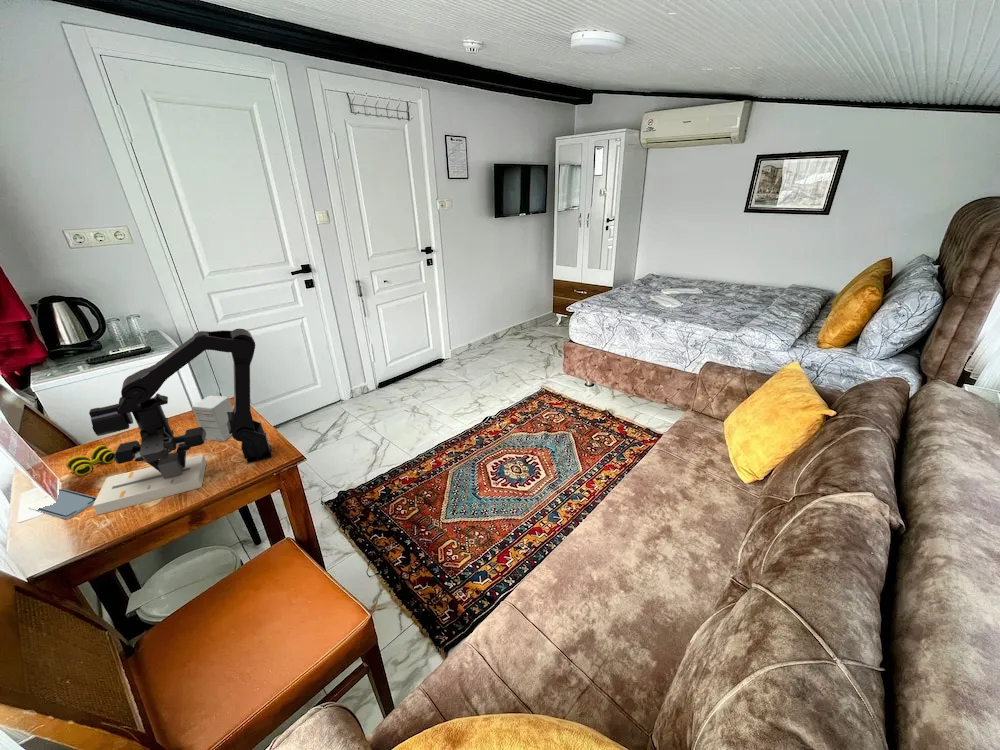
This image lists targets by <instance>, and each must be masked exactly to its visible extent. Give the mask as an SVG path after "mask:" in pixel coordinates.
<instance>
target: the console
mask: <svg viewBox="0 0 1000 750" xmlns="http://www.w3.org/2000/svg"><path fill="white" fill-rule="evenodd" d="M206 467H207V461H206V458H205V455H204V454H200V455H199V454H198V455H195V456H191V457H186V466H185V468H183V472H182V474H181V475H177V476H173V477H169V478H166V479H164V478H163V476H162V474H161V473H160V472H159V471H158V470H156V469H155V468H154V467H153V466H150V467H145V468H144V467H143V468H140V469H136V470H132V471H129V472H124V473H119V474H116V475H111V476H107V477H106V479H105V480H104V483H103V485H102V486H101V489H100V490H99V492H98V495H97V497H96V500H95V502H94V504H93V505H92V508H93V509H94V511H95V513H96V514H97V516H98V515H102V514H106V513H110V512H113V511H116V510H122V509H125V508H128V507H132V506H137V505H140V504H144V503H148V502H152V501H155V500H158V499H163V498H166V497H170V496H173V495H178V494H181V493H184V492H188V491H193V490H197V489H201V488H202V487H203V482H204V479H205V478H204V476H205V471H206Z"/></svg>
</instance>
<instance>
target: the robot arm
mask: <svg viewBox="0 0 1000 750" xmlns="http://www.w3.org/2000/svg"><path fill="white" fill-rule="evenodd" d="M255 349H256V342H255V340H254V338H253V335H252V334H251V332H250V331H248V330H247V329H245V328H235V329H232V330H213V331H205V330H202V331H201V330H199V331H197V332H195V333H194V334H193V336H192V337H190V338H189V339H188V340H186V341H185V342H183V343H182V344H181V345H179V346H178V347H176V348H175V349H174V350H172V351H171V352H170V353H168V354H167V355H166V356H165V357H163V358H162V359H160V360H158V361H157V362H156V363H155V364H153V365H151V366H149V367H145V368H142V369H140V370H138V371H136V372H134V373H133V374H131V375H129V376H126V378H125V379H123V382H122V386H121V391H120V394H121V396H120V397H119V401H118V403H116V404H111V405H107V406H102V407H95V408H91V409H90V410H89V412H88V414H89V417H90V421H91V425H92V427H91V428H92V430H93V432H94V434H95V435H96V436H98V437H102V436H105V435H109V434H113V433H117V432H121V431H126V430H129V429H130V425H132V424H134V419H135V422H136V424H137V427H138V428H139V430H140V431H139V436H140V438H141V439H140V441H138V440H132V441H128V442H124V443H120V444H119V445H118V446H117V448H116V449H115V451H114V452H115V454H114V459H115V460H114V462H115V463H116V464H119V465H120V464H125V463H129V462H132V461H133V460H134V462H136V463H138V462H139V463H140V462H144V463H147V464H148V465H149V466H150V467H154V468H155V469H156V470H158V471H159V472H160V470H159V468H158V463H159V460H160V459H165V458H167V457H168V455H169V453H172V451H175V452H177V453H178V454H179V458H180V461H181V465H182V466H183V468H185V466H186V458H187V451H190V449H191V448H194V447H199V446H203V445H204V444H205V443H206V439H205V438H206V432H205V429H204V428H202V427H199V426H198V427H194V428H190V429H186V430H185V432H184V433H182V434H180V435H178V436H175V433H174V430H173V429H172V428H171V426H170V425H169V419H168V417H166V415H165V412H164V410H163V407H162V406H164V405H168V403H169V398H168V396H167V395H161V394H160V393H157V392H158V391H159V390H160V388H161V387H162V386H163V384H164V383H165V382H166V381H167V380H168V379H169V378H170V377H171V376H173V375H174V374H175V373H177V372H179V370H181V369H182V368H184V367H185V366H186V365H188V364H189V363H191V361H193V360H194V359H196V358H197V357H198V356H199V355H201V354H202V353H204V352H205V351H215V352H223V353H231V357H232V361H233V397H234V399H233V402H234V403H233V405H234V406H233V412H227V415H228V422H227V426H228V430H229V434H231V433H232V435H231V437H232V438H233V439H234V440H235V441H237V442H241V452H242V454H243V457H244V459H246V463H247V464H250V463H253V462H258V461H261V460H265V459H269V458H271V457H272V445H271V444H270V441H269V438H268V435H267V432H265V429H264V427H263V425H262V422H260V421H256V420H254V419H253V416H252V412H251V364H252V361H253V358H254V354H255ZM133 418H134V419H133ZM160 473H161V472H160Z"/></svg>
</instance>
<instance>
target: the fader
mask: <svg viewBox="0 0 1000 750" xmlns="http://www.w3.org/2000/svg"><path fill="white" fill-rule="evenodd" d="M158 468H159V470H160V472H161V474H162V476H163V478H164V479H166V478H169V477H173V476H177V475H181V474H182V472H183V466H182V465H181V461H180V458H179V454H178V453H177V452H176V451H174V452H171V453H169V455H168V457H167V458H165V459H159V463H158Z"/></svg>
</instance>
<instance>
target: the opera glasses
mask: <svg viewBox="0 0 1000 750" xmlns="http://www.w3.org/2000/svg"><path fill="white" fill-rule="evenodd" d="M115 452H116V451H113V450H111V449H109V447H108V446H106V445H105V444H103V445H98V446H96V447H95V448H94V449H93V450H92V451H91V454H90V457H88V456H86V455H76V456H73V457H71V458H70V459H68V460H67V462H66V464H65V465H66V468H67V470H69V471H72V472H74V473H75V475H77V476H82V477H83V476H85V475H87V474H90V473H91V472H92V471H93V466H94V465H96V464H98V463H105V464H111V463H112V462H115V459H114V454H115Z"/></svg>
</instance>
